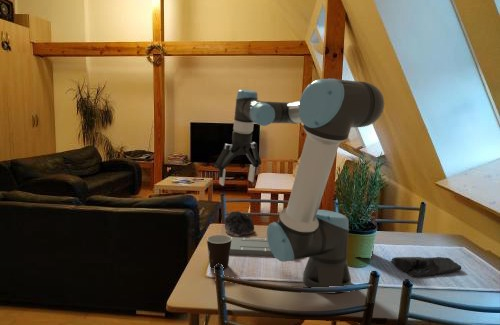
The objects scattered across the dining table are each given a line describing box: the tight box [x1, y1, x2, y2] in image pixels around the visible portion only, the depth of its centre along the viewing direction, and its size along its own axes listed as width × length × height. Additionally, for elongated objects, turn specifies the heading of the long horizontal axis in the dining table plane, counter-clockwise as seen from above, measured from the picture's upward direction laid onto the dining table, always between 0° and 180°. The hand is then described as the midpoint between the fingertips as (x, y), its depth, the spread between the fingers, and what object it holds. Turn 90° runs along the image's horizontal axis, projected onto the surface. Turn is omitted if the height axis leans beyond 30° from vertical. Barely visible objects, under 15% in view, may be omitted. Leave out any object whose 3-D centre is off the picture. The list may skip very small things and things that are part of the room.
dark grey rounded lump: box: [224, 210, 255, 237], centre depth 159 cm, size 13×14×10 cm
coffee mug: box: [206, 234, 232, 270], centre depth 124 cm, size 12×9×10 cm
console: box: [230, 236, 275, 257], centre depth 139 cm, size 14×28×2 cm, turn 87°
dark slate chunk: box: [390, 256, 462, 278], centre depth 125 cm, size 15×22×5 cm
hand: (236, 182), depth 139 cm, fingers open, 13 cm apart
